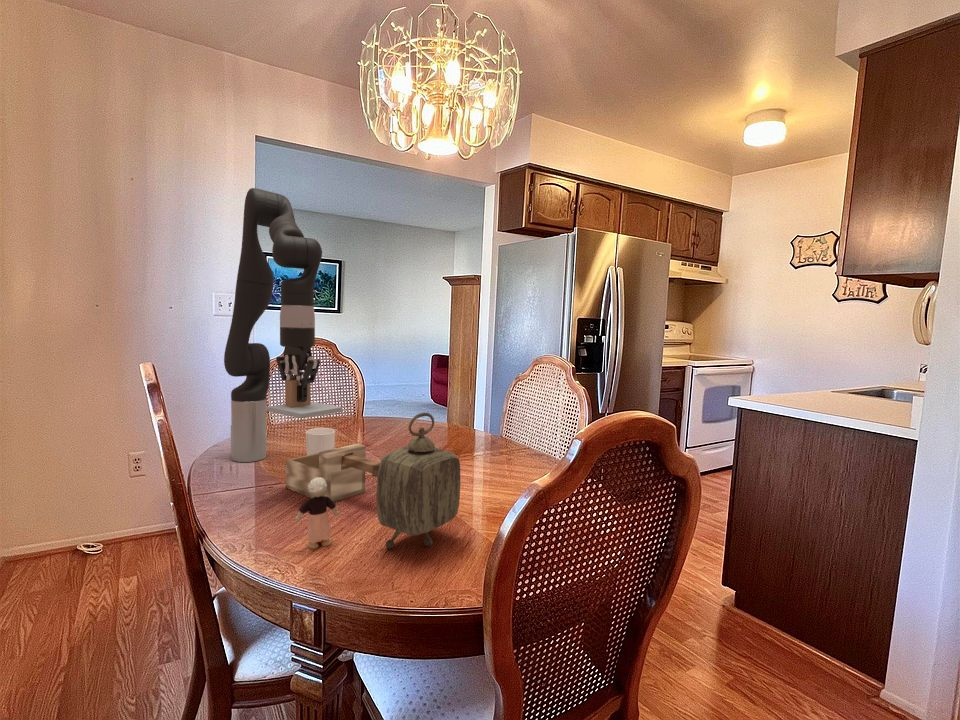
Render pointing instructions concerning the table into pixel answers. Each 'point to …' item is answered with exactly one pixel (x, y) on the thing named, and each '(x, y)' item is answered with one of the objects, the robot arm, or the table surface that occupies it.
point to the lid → (301, 404)
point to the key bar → (361, 464)
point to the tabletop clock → (417, 487)
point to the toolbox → (327, 472)
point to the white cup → (319, 440)
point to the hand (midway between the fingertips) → (297, 400)
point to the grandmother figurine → (317, 514)
